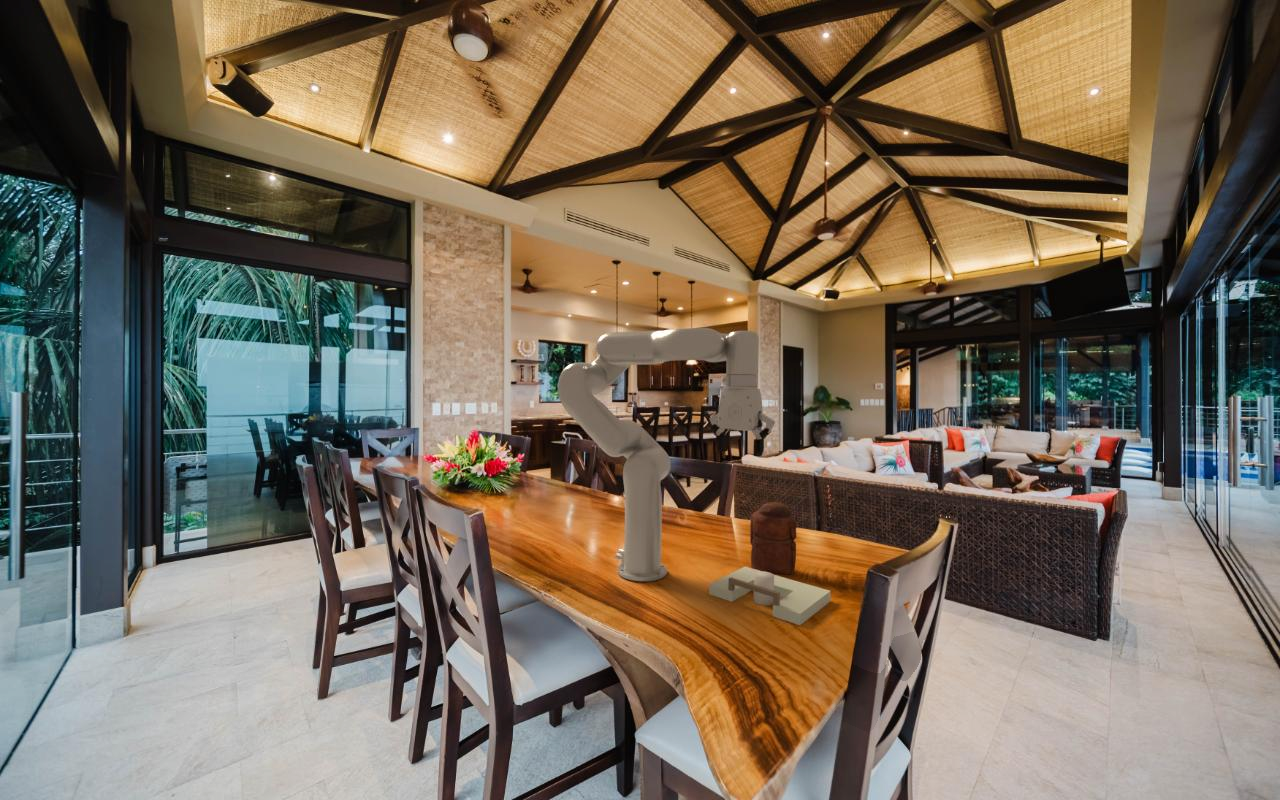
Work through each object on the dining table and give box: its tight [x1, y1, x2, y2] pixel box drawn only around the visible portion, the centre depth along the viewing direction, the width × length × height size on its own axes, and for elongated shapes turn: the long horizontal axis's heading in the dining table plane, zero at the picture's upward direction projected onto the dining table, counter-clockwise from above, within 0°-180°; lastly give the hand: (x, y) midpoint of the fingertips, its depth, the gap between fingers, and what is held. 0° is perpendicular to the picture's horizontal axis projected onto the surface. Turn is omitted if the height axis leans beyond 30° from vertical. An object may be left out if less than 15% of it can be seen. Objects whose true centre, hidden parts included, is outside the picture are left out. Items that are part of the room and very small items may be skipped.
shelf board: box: [708, 566, 832, 626], centre depth 114 cm, size 22×16×5 cm
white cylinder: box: [753, 571, 775, 606], centre depth 113 cm, size 4×4×6 cm
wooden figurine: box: [749, 501, 797, 575], centre depth 132 cm, size 12×6×18 cm, turn 75°
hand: (740, 453), depth 120 cm, fingers open, 9 cm apart
